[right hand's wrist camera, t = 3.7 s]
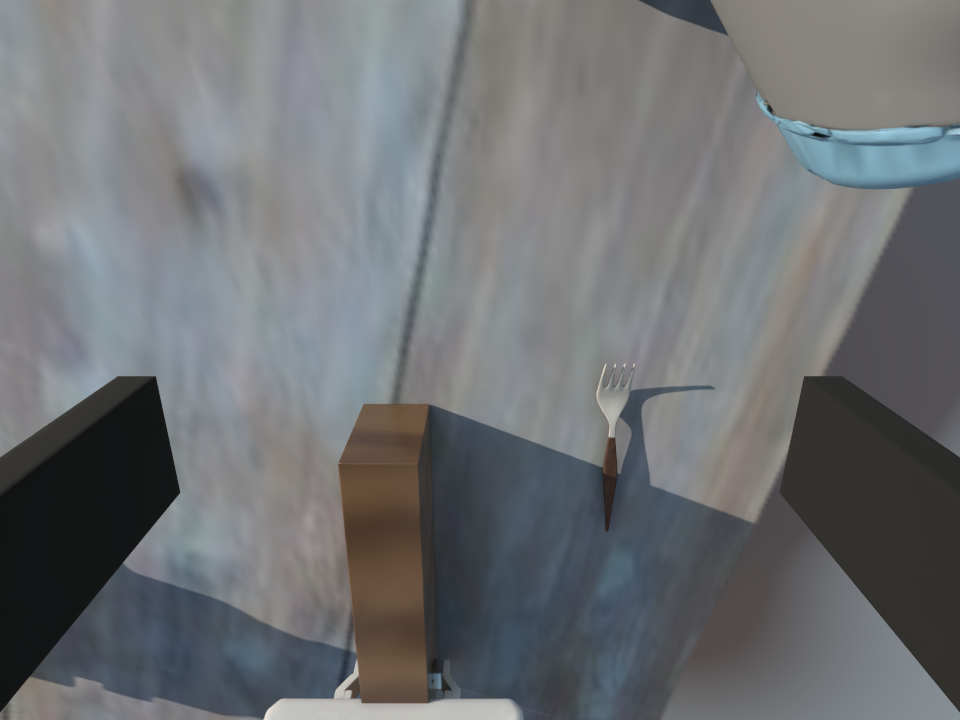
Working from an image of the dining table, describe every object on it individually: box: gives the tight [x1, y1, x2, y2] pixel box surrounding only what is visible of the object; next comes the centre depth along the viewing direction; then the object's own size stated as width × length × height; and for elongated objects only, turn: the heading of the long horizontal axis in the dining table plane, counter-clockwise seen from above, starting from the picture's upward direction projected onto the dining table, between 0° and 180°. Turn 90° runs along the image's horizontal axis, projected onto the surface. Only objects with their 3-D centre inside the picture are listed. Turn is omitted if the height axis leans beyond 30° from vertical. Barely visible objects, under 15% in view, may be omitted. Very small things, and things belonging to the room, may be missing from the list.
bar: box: [338, 404, 438, 703], centre depth 49 cm, size 28×5×9 cm, turn 0°
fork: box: [597, 363, 636, 531], centre depth 48 cm, size 3×16×2 cm, turn 2°
